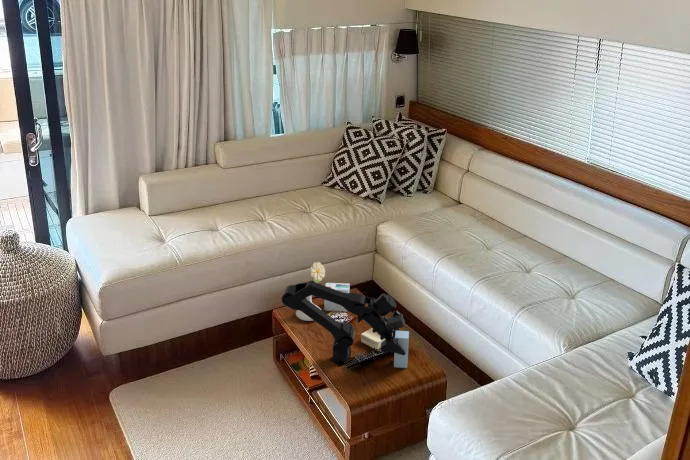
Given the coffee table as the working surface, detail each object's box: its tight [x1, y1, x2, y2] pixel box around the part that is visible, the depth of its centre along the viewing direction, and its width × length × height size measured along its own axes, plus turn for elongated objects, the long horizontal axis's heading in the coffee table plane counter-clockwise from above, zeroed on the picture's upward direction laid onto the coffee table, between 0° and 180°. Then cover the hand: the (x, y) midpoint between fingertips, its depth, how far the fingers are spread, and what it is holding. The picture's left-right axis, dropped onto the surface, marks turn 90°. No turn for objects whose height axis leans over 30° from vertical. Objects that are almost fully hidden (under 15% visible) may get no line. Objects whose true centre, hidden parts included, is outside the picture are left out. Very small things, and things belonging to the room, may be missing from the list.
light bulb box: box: [323, 282, 351, 313], centre depth 294 cm, size 11×7×11 cm, turn 84°
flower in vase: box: [295, 261, 326, 322], centre depth 285 cm, size 13×11×25 cm
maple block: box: [360, 327, 386, 350], centre depth 271 cm, size 9×9×4 cm
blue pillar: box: [393, 330, 410, 369], centre depth 255 cm, size 5×5×13 cm
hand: (405, 349), depth 254 cm, fingers open, 7 cm apart
